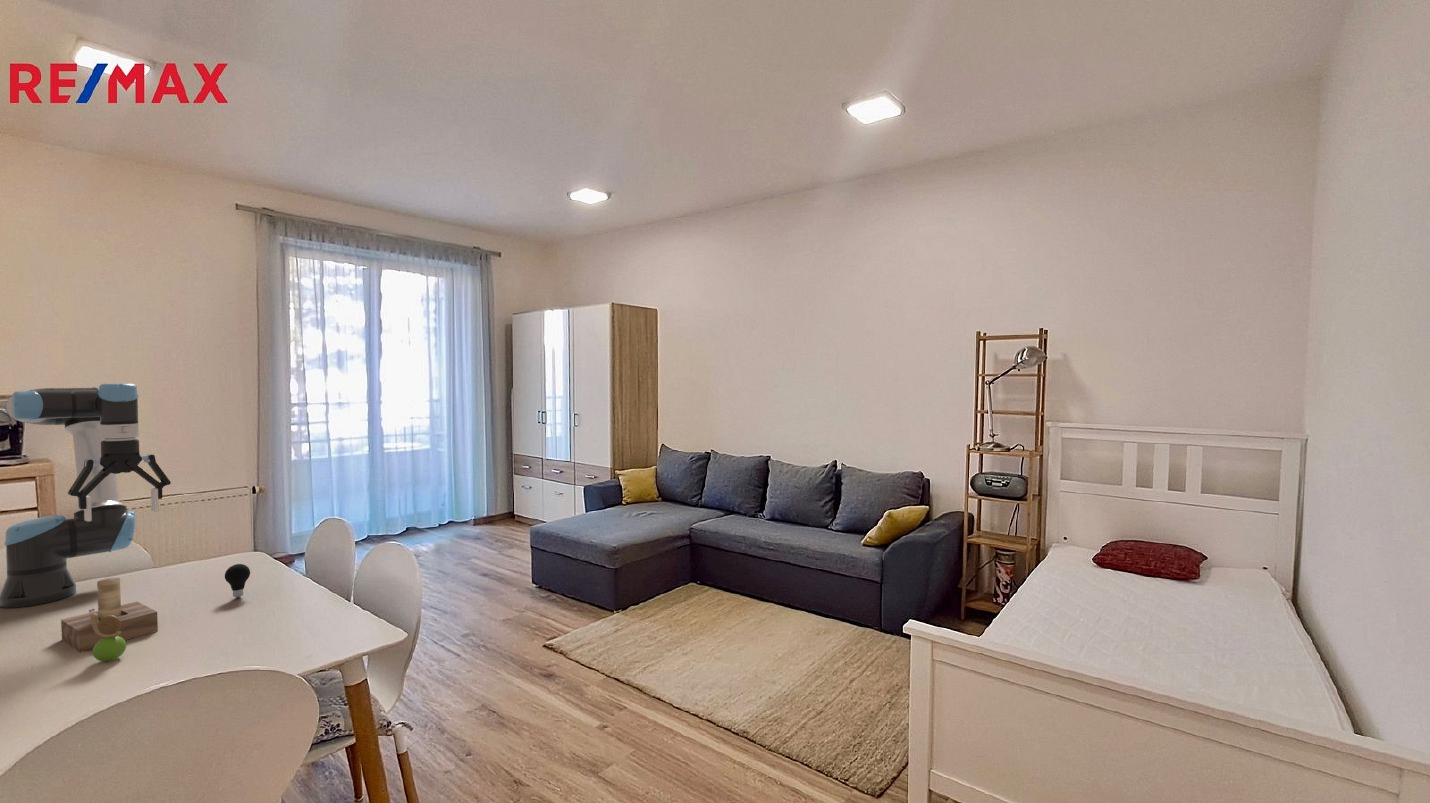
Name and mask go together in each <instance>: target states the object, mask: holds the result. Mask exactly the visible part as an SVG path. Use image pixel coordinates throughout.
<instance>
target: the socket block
mask: <svg viewBox="0 0 1430 803" xmlns="http://www.w3.org/2000/svg"><path fill="white" fill-rule="evenodd" d="M93 613H94V614H98V610H96V611H95V610H94V611H91V615H92V614H93ZM91 615H90V612H86V613H83V614H79V615H73V616H70V617H66V618H61V619H60V626H61V629H60V630H61V631H60V632H61V640H62V641H64V642H65V643H66V644H68V645H69V646H70V647H72V648H73V650H76V651H77V652H79V653H83V652H87V651H92V650H93V648H94V646H95V644H96V643H97V642H98V641H100V640H101V639H103V638H104V637H101V636H99V635H97V634H96V633H95V631H94V629H93V626H92V621H91V619H90V616H91ZM118 618H119V619H120V621H121V627H120V629H119V630H118V631H117V632H121V633H120V634H119V635H118V636H119V637H122V638H123V639H124V640H125V641H127V640H130V639H134V638H138V637H141V636H144V635H145V636H146V635H149V634H152V633H156V632H158V631H159V630H158V629H159V628H158V626H159V624H158V611H157V610H155V609H153V608H151V607H148V606H147V605H145V604H143V603H141V602H139V601H133V602H132V601H131V602H129V603H125V604H121V616H119V617H118ZM98 621H99V618H98Z"/></svg>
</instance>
